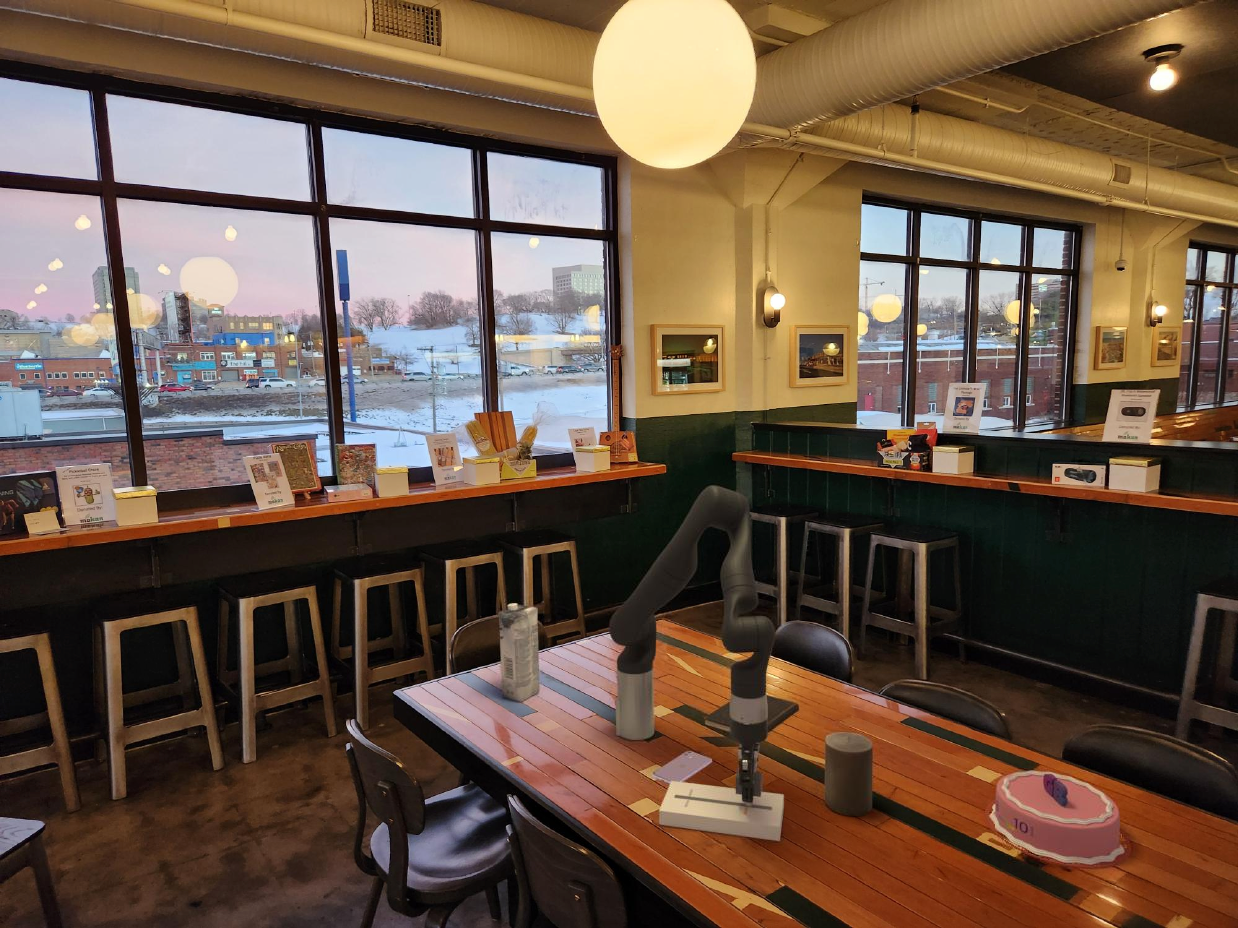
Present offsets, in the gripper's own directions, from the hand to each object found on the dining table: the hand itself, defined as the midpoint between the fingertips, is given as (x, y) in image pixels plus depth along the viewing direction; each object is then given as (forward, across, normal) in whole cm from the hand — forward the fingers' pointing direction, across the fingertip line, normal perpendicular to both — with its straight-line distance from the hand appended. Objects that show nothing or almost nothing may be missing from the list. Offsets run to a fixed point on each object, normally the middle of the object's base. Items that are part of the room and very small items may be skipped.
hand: (749, 793), depth 154 cm
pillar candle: (+6, -11, +20) cm, 23 cm away
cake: (+6, -11, +58) cm, 60 cm away
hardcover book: (+6, -49, -5) cm, 50 cm away
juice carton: (+6, -49, -72) cm, 87 cm away
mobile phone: (+6, -18, -17) cm, 26 cm away
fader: (+2, 0, 0) cm, 2 cm away
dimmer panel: (+6, 0, -6) cm, 8 cm away
